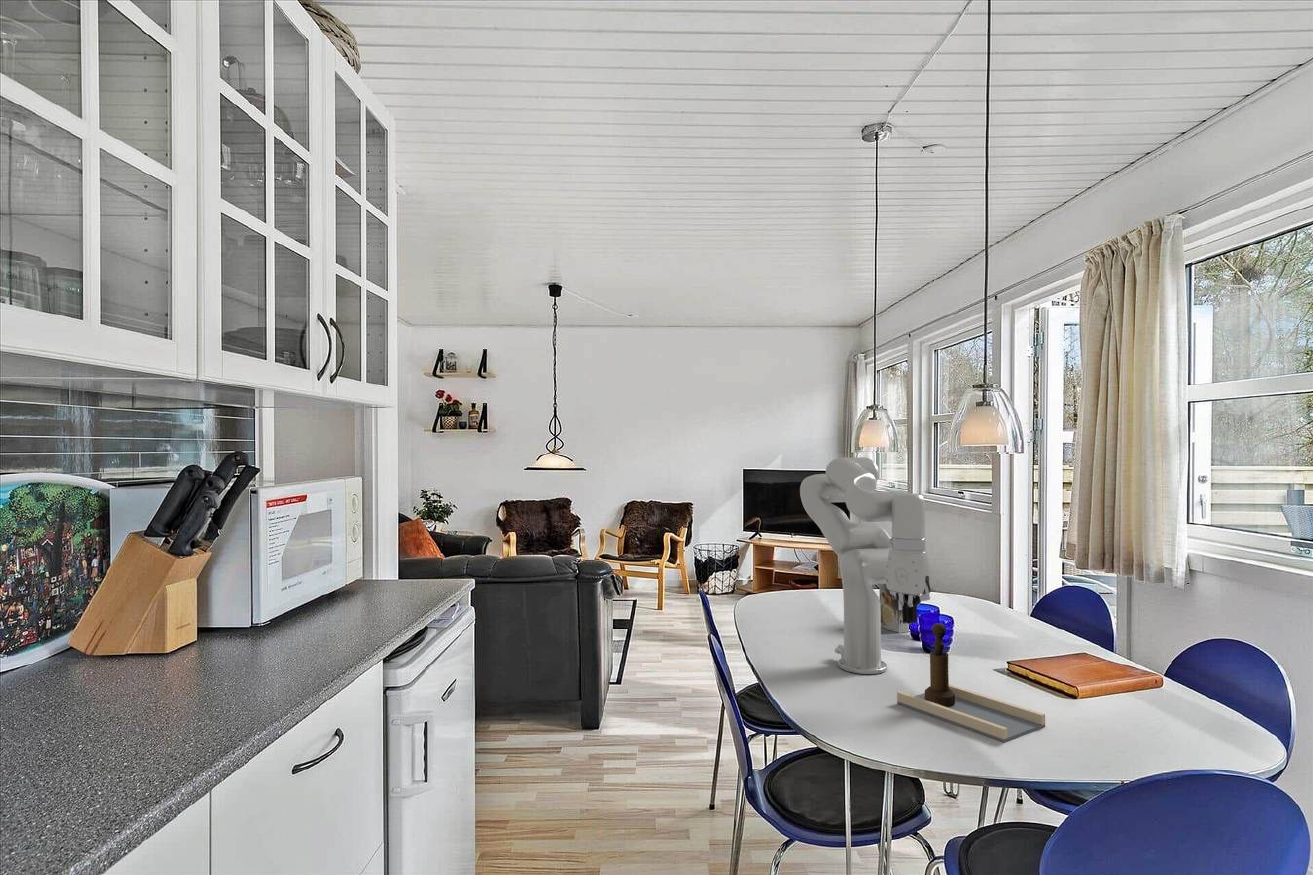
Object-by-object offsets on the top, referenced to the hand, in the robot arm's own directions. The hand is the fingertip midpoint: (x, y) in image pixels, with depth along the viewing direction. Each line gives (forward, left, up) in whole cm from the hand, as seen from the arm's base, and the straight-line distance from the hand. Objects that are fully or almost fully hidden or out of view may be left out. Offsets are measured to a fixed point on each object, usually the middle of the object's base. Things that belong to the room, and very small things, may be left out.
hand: (909, 622), depth 172 cm
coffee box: (-43, +48, -18) cm, 67 cm away
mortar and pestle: (+8, 0, -17) cm, 19 cm away
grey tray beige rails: (+15, 0, -17) cm, 23 cm away
